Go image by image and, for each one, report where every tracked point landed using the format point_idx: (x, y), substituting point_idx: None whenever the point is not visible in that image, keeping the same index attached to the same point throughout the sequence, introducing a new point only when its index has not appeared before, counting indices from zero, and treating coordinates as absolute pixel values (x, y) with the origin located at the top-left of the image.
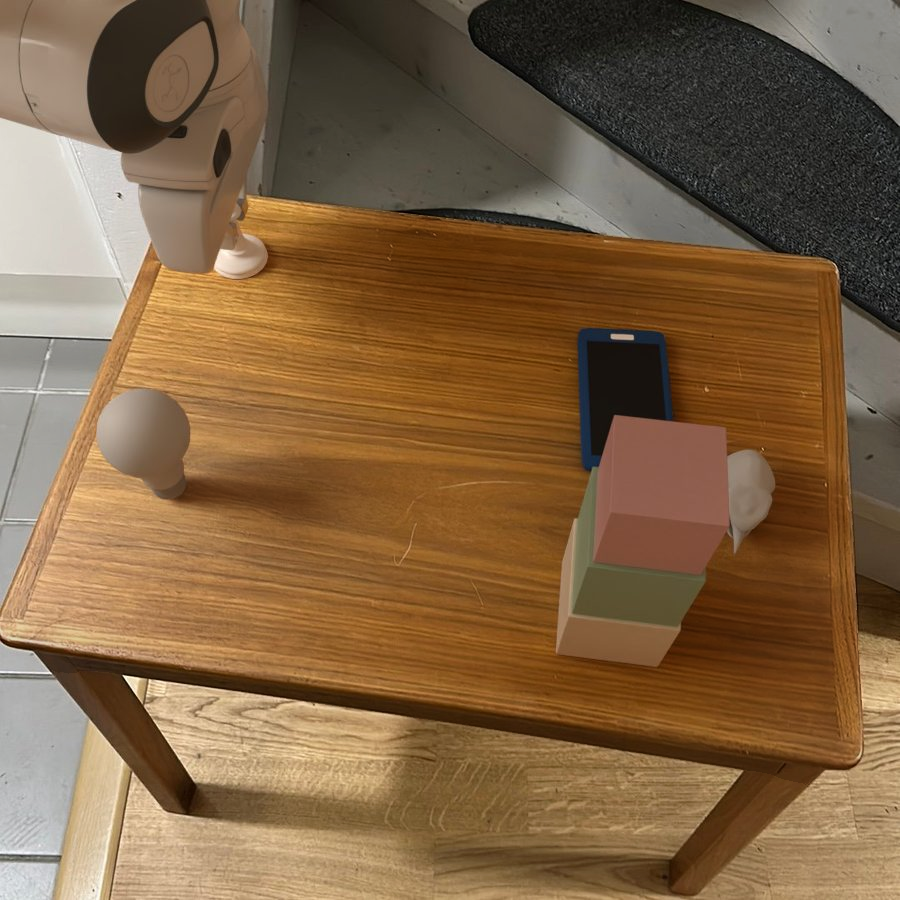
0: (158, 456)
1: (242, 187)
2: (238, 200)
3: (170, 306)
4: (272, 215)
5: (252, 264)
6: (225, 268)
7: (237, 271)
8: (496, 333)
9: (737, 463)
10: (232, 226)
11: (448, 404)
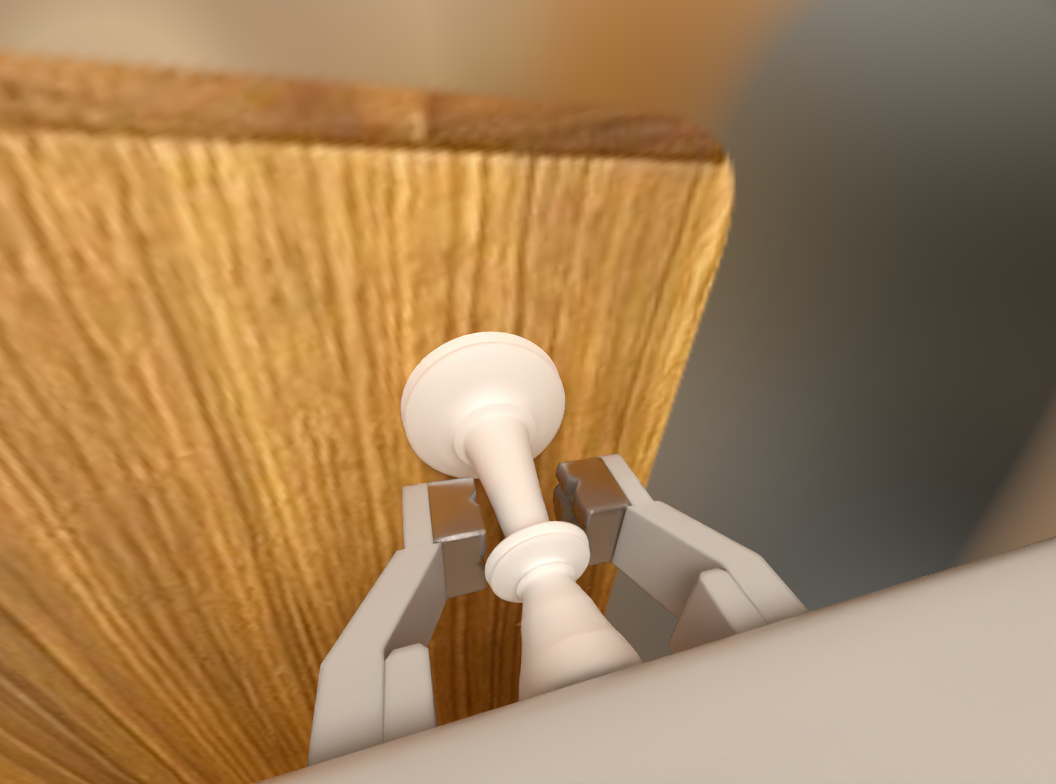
0: None
1: (650, 591)
2: (605, 552)
3: (192, 253)
4: (638, 424)
5: (445, 471)
6: (414, 411)
7: (411, 443)
8: None
9: None
10: (464, 590)
11: (217, 780)
